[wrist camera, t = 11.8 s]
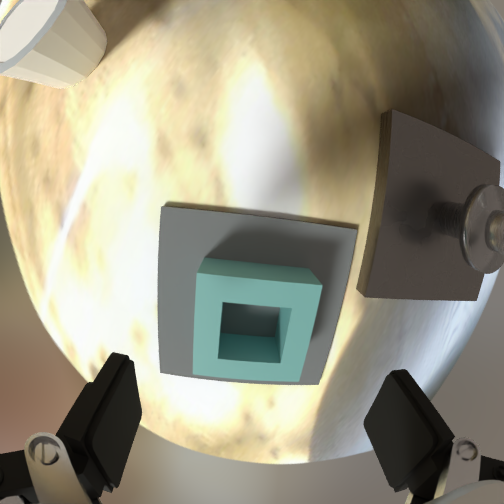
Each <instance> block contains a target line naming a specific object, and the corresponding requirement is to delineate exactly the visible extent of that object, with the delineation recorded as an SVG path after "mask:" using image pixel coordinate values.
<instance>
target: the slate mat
mask: <svg viewBox="0 0 504 504" xmlns="http://www.w3.org/2000/svg"><path fill="white" fill-rule="evenodd" d="M356 235H357V230H356V229H352V228H346V227H339V226H332V225H325V224H318V223H311V222H304V221H296V220H288V219H281V218H273V217H264V216H256V215H247V214H239V213H229V212H220V211H210V210H200V209H190V208H179V207H167V206H162V207H161V216H160V231H159V252H158V339H159V360H160V373H165V374H171V375H178V376H184V377H191V378H199V379H207V380H217V381H227V382H239V383H254V384H276V385H319V382H320V379H321V376H322V372H323V369H324V366H325V363H326V360H327V356H328V353H329V350H330V346H331V343H332V339H333V336H334V332H335V329H336V325H337V321H338V317H339V313H340V309H341V305H342V301H343V297H344V293H345V289H346V284H347V280H348V275H349V271H350V266H351V261H352V256H353V251H354V246H355V240H356ZM204 257H205V258H214V259H224V260H233V261H242V262H252V263H261V264H271V265H280V266H290V267H300V268H309V269H310V270H311V271H312V273H313V274H314V275H315V276H316V278H317V279H318V280H319V281H320V283H321V284H322V285H323V286H322V291H321V295H320V300H319V304H318V309H317V313H316V318H315V322H314V326H313V330H312V334H311V338H310V342H309V346H308V350H307V354H306V358H305V362H304V365H303V369H302V373H301V376H300V380H299V382H286V381H259V380H243V379H231V378H220V377H211V376H202V375H194V374H193V340H194V314H195V294H196V277H197V271H198V269H199V267H200V265H201V263H202V261H203V259H204ZM279 311H280V307H271V306H259V305H248V304H238V303H228V302H223V311H222V322H221V333H227V334H238V335H249V336H262V337H275V333H276V327H277V322H278V316H279Z"/></svg>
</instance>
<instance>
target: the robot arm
mask: <svg viewBox="0 0 504 504" xmlns="http://www.w3.org/2000/svg"><path fill="white" fill-rule="evenodd" d="M141 416H142V408H141V403H140V398H139V392H138V386H137V380H136V374H135V367H134V362H133V361H132V360H130V359H129V356H128V355H124V354H119V353H115V352H113V353H111V355H110V356H109V358H108V359H107V361H106V362H105V364H104V366H103V367H102V369H101V370H100V372H99V373H98V375H97V377H96V378H95V380H94V381H93V382H89V383H87V384H86V385H85V387H84V388H83V390H82V392H81V393H80V395H79V397H78V398H77V400H76V401H75V403H74V405H73V406H72V408H71V410H70V411H69V413H68V415H67V416H66V418H65V420H64V421H63V423H62V425H61V426H60V428H59V430H58V432H57V433H56V435H53V434H50V433H46V432H42V433H36V434H34V435H32V436H31V437H29V438H28V440H27V441H26V443H25V447H24V450H20V451H15V452H9V453H4V454H0V504H102V502H101V500H100V499H99V497H101V494H102V491H103V490H104V491H107V492H110V493H112V491H113V488H114V487H116V488H118V486H119V484H120V481H121V478H122V474H123V471H124V468H125V465H126V462H127V459H128V456H129V453H130V450H131V447H132V444H133V441H134V437H135V435H136V432H137V429H138V426H139V423H140V420H141ZM364 428H365V430H366V432H367V435H368V437H369V439H370V441H371V444H372V446H373V448H374V451H375V453H376V455H377V457H378V460H379V462H380V464H381V467H382V469H383V471H384V474H385V476H386V479H387V481H388V483H389V485H390V486H391V487H393V488H394V491H395V492H399V491H402V490H405V489H407V488H409V490H410V492H409V495H408V497H407V500H406V503H405V504H504V461H500V460H496V459H492V458H489V457H485V456H482V455H481V451H480V447H479V445H478V444H477V443H476V442H475V441H474V440H472V439H470V438H466V437H463V438H459V439H457V440H456V441H455V442H454V443H453V442H452V440H453V439H454V437H455V436H454V434H453V433H452V431H451V430H450V429H449V427H448V426H447V424H446V423H445V422H444V420H443V419H442V417H441V416H440V414H439V413H438V412H437V410H436V409H435V407H434V406H433V405H432V403H431V402H430V400H429V399H428V398H427V396H426V395H425V394H424V392H423V391H422V390H421V388H420V387H419V386H418V384H417V383H416V382H415V380H414V379H413V378H412V376H411V375H410V374H409V372H408V371H407V370H405V369H401V370H393V371H391V372H390V374H389V375H387V376H386V378H385V380H384V382H383V385H382V387H381V389H380V391H379V393H378V395H377V397H376V399H375V401H374V402H373V404H372V406H371V408H370V410H369V412H368V414H367V415H366V417H365V419H364Z"/></svg>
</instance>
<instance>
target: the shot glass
mask: <svg viewBox="0 0 504 504" xmlns="http://www.w3.org/2000/svg"><path fill="white" fill-rule="evenodd" d="M106 45H107V37H106V33H105V31H104V29H103V28H102V27H101V25H100V24H99V22H98V21H97V19H96V18H95V16H94V15H93V13H92V12H91V10H90V9H89V7H88V6H87V5H86V3H85V2H84V0H19V1H18V2H17V3H16V4H15V6H14V7H13V8H12V9H11V10H10V11H9V13H8V14H7V15H6V16H5V17H4V19H3V20H2V22H1V24H0V75H3V76H8V77H12V78H17V79H22V80H26V81H30V82H34V83H39V84H42V85H46V86H50V87H54V88H59V89H66V88H69V87H72V86H75V85H76V84H78V83H79V82H81V81H82V80H84V79H85V78H87V77H88V75H89V74H90V73H91V72H92V71H93V70H94V69H95V68H96V67H97V66H98V64H99V62H100V60H101V59H102V57H103V55H104V53H105V50H106Z"/></svg>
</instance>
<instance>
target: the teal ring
mask: <svg viewBox="0 0 504 504" xmlns="http://www.w3.org/2000/svg"><path fill="white" fill-rule="evenodd" d="M322 286H323V285H322V284H321V283H320V281H319V280H318V279H317V278H316V276H315V275H314V274H313V273H312V271H311V270H310V269H309V268H300V267H290V266H280V265H271V264H261V263H252V262H242V261H233V260H224V259H214V258H205V257H204V259H203V261H202V263H201V265H200V267H199V269H198V271H197V277H196V294H195V314H194V340H193V374H194V375H202V376H211V377H220V378H231V379H243V380H259V381H286V382H299V380H300V376H301V373H302V369H303V365H304V362H305V358H306V354H307V350H308V346H309V342H310V338H311V334H312V330H313V326H314V322H315V318H316V313H317V309H318V304H319V300H320V295H321V291H322ZM223 302H228V303H238V304H248V305H259V306H271V307H280V311H279V316H278V322H277V327H276V333H275V337H262V336H249V335H238V334H227V333H221V322H222V311H223Z"/></svg>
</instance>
